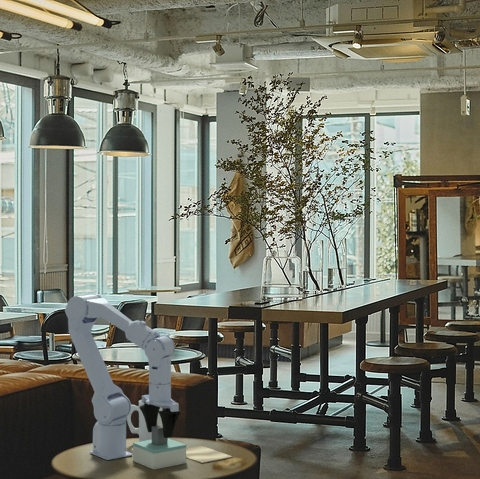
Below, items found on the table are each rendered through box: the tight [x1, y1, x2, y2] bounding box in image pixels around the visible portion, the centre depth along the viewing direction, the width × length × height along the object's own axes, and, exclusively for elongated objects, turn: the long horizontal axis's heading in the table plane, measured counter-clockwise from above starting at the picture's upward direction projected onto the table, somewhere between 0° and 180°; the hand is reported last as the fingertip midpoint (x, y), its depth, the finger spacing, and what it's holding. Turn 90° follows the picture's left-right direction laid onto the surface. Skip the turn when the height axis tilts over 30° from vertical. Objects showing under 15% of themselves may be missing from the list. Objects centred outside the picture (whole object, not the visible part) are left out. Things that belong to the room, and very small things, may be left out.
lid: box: [132, 425, 187, 454], centre depth 238 cm, size 10×10×6 cm
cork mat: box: [186, 445, 234, 465], centre depth 246 cm, size 14×10×1 cm
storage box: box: [132, 445, 187, 470], centre depth 238 cm, size 10×10×4 cm
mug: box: [126, 399, 164, 442], centre depth 258 cm, size 10×7×12 cm, turn 90°
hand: (159, 434), depth 238 cm, fingers open, 7 cm apart
